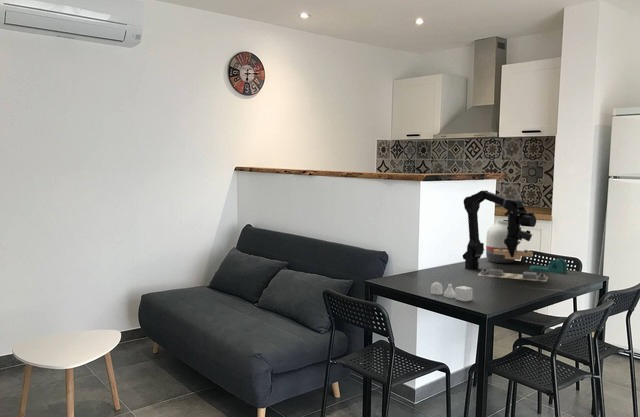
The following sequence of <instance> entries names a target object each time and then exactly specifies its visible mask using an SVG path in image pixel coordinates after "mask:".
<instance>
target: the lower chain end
mask: <svg viewBox="0 0 640 417" xmlns="http://www.w3.org/2000/svg"><path fill="white" fill-rule="evenodd" d="M480 272H481V274H483V275H487V274H488V273H489V275H494V276H502V274H503V273H504V269H499V268H490V269H486V268H483V269H481V270H480Z"/></svg>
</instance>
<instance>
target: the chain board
mask: <svg viewBox="0 0 640 417" xmlns="http://www.w3.org/2000/svg"><path fill="white" fill-rule="evenodd" d="M477 276H482V277H492V278H503V279H504V278H505V279H515V280H516V279H517V280H523V281H524V280H527V281H535V282H537V281H538V282H547V281H548V279H549V276H546V278H545V280H538V276H539V275H537V278H536V279H527V278H523V274H519V273H509V272H508V273H507V272H503V274H502V276H494V275H489V273H488V274H487V275H483V274H481V271H480V272H479V273H478V274H477Z"/></svg>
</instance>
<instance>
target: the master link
mask: <svg viewBox="0 0 640 417" xmlns="http://www.w3.org/2000/svg"><path fill="white" fill-rule="evenodd" d="M533 253H534V251H529V250H528V249H524V250H517V251H516V250H515V252H514V257H511V256H510V253H509V251H508V250H502V248H499V249H494V254H499V255H505V259H515V260H517V261H520V260H521V257H528V258H532V257H533V256H534V254H533Z"/></svg>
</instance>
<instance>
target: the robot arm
mask: <svg viewBox="0 0 640 417" xmlns="http://www.w3.org/2000/svg"><path fill="white" fill-rule="evenodd" d="M484 201H489V202H492V203H494V204H496V205H500V206H501V207H502V208H503V209H504V210H506V212H504V214H503V216H507V222H508V227H507V229H508V234H507V238H506V239H505V240H504V244H506V246H507V248H508V251H509V253H510V256H511V257H514V252H515V250H516V249H517V250H518V246H519V245H520V243H521V242H522V241H523V240H525V241H526V242H530V241H531V239H532V237H533V234H532V233H531V231H530V230H529V229H527V230H526V231H525V230H522V227H528V228H535V226H536V224H537V218H536V215H535V213H534V212H527V210H526V208H525V206H524V205H523V202H522V200H520V199H515V198H508V197H504V196H501V195H498V194H496V193H493V192H491V191H488V190H480V191H478V192H476V193H474V194H472V195H469V196H465V198H464V199H463V205H464V210H465V211H466V213H467V221H468V235H469V236H468V237H469V241H468V243H467V245H466V251H465V252H464V253H463V254H462V260H465V261H464V264H465V265H464V269H466V270H470V271H473V270H474V271H479V270H480V262H479V260H480V259H481V257H482V256H483V254H484V252H485V249H484V248H485V247H484V245H485V244H484V242H481V240H480V234H479V232H480V231H479V217H478V215H479V214H478V212H479V210H480V206H481V203H483V202H484Z"/></svg>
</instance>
